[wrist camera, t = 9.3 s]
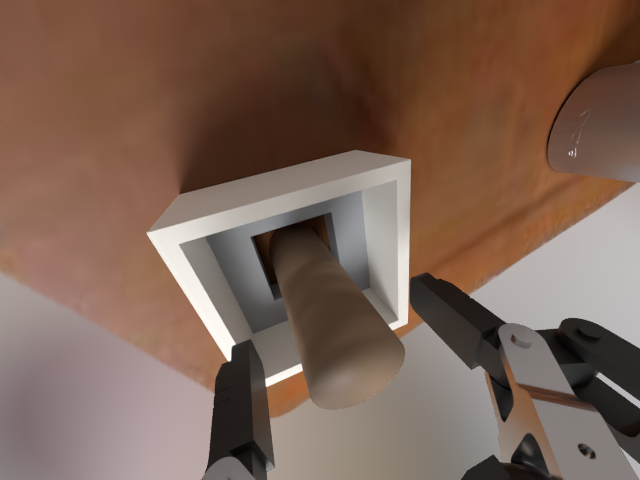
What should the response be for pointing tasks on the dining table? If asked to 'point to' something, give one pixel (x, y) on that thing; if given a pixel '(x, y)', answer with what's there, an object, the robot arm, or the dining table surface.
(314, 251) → the peg
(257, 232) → the open box
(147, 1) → the dining table surface
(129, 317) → the dining table surface
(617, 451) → the robot arm
